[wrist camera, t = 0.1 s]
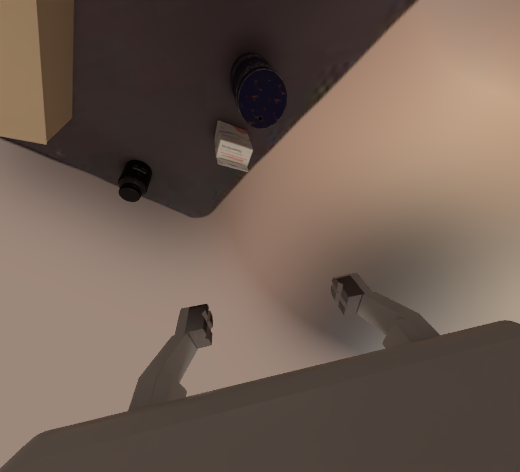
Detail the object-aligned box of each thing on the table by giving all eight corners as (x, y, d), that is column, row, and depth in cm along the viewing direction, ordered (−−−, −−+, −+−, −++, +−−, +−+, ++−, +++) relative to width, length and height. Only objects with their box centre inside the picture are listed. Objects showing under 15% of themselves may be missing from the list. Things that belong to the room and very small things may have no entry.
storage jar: (231, 46, 39) (239, 62, 30) (274, 56, 42) (294, 73, 33) (228, 102, 47) (235, 127, 38) (266, 107, 49) (280, 132, 40)
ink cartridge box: (247, 129, 53) (256, 156, 44) (242, 145, 56) (249, 173, 47) (217, 118, 49) (220, 145, 40) (213, 137, 53) (216, 165, 44)
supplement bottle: (147, 159, 54) (138, 184, 47) (155, 179, 59) (149, 204, 52) (120, 159, 52) (108, 185, 45) (131, 179, 58) (121, 205, 51)
